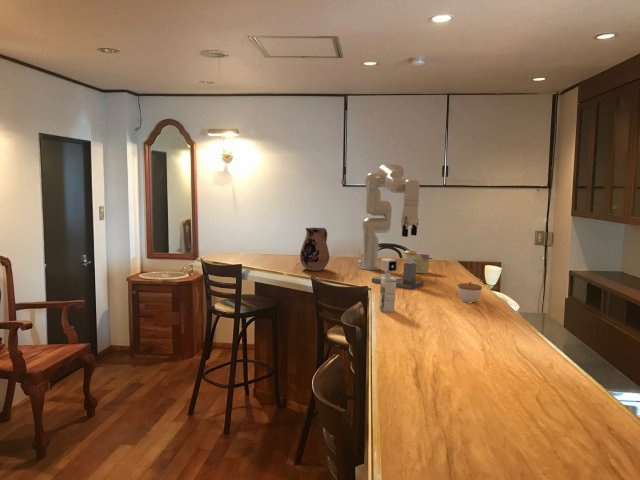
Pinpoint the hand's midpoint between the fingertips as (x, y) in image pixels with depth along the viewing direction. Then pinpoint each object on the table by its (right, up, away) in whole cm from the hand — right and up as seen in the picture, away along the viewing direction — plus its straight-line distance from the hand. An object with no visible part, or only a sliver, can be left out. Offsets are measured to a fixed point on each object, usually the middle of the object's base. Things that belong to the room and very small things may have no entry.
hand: (409, 235), depth 274 cm
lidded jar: (+24, -32, -27) cm, 48 cm away
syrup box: (-18, -33, -50) cm, 62 cm away
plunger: (0, -20, +2) cm, 20 cm away
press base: (-5, -26, +7) cm, 27 cm away
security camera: (-10, -23, +10) cm, 27 cm away
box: (+13, -22, +43) cm, 50 cm away
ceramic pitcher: (-50, -20, +40) cm, 67 cm away
